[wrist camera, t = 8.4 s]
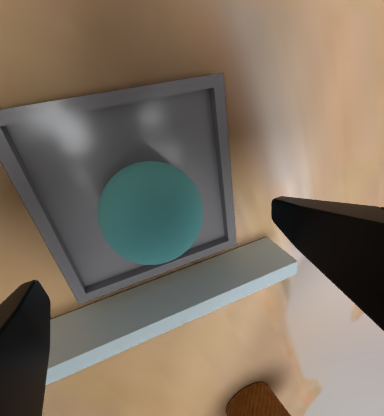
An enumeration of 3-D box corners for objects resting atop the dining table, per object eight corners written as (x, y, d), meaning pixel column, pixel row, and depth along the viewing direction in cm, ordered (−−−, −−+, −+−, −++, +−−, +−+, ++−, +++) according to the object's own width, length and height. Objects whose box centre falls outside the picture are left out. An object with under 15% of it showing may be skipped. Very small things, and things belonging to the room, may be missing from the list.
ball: (113, 244, 14) (122, 305, 10) (82, 165, 12) (77, 200, 8) (188, 218, 15) (226, 262, 11) (174, 142, 13) (215, 162, 9)
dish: (80, 290, 15) (79, 304, 14) (-14, 112, 10) (-26, 113, 9) (228, 236, 18) (236, 244, 17) (213, 74, 13) (223, 72, 12)
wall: (40, 338, 16) (27, 394, 13) (31, 327, 15) (16, 382, 12) (266, 248, 20) (296, 273, 17) (266, 236, 20) (297, 261, 17)
